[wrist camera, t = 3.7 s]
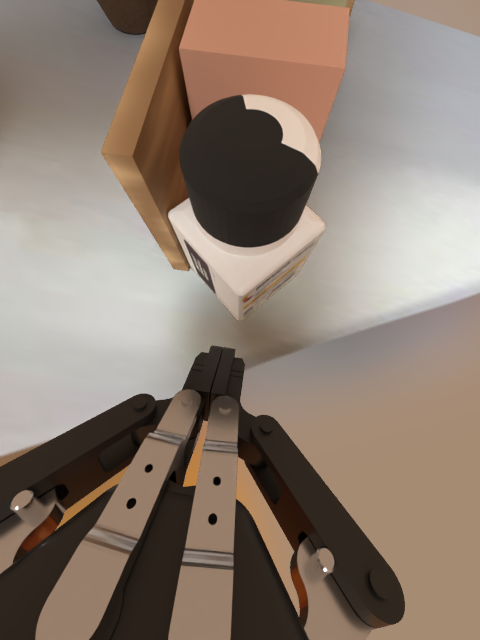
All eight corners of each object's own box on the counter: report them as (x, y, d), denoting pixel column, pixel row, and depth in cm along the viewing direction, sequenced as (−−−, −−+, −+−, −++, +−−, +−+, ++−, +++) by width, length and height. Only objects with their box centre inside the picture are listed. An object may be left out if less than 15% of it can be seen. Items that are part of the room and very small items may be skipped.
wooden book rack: (173, 268, 22) (100, 152, 10) (226, 58, 29) (217, -157, 17) (309, 289, 22) (393, 192, 10) (330, 70, 28) (394, -140, 17)
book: (208, 207, 24) (178, 48, 12) (216, 169, 25) (197, -10, 13) (292, 219, 23) (345, 68, 12) (296, 180, 25) (349, 8, 13)
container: (239, 323, 21) (241, 249, 8) (189, 265, 22) (123, 124, 10) (298, 274, 22) (380, 142, 9) (247, 222, 23) (258, 44, 11)
